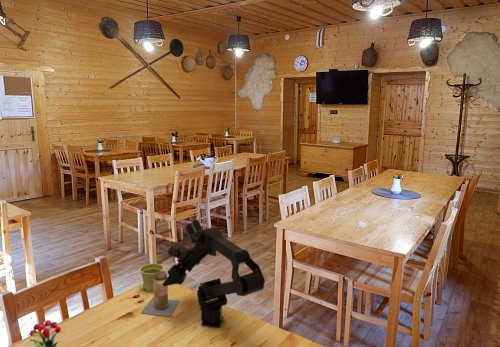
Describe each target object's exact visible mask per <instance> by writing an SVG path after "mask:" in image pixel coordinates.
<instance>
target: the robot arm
mask: <svg viewBox="0 0 500 347" xmlns="http://www.w3.org/2000/svg"><path fill="white" fill-rule="evenodd" d="M184 230H185V232H186V235H187V237H188V238H189V240H190V242H191V244H193V246H190V247H189V248H187V247H186V246H185V245H183V244H181V243H179V242H177V241H174V242H173V243H172V244H171V245H170V246H169V248H168V250H167V254H168V255H169V256H171V257H172V258H176V259H177V260H176V261H177V262H178V263H177V264H173V265H172V266H171V267H170V268H169V269H168V271H167V274H168V275H167V279H166V280H165V281H164V283H163V284H162V285H163V286H168V287H170V286H172V285H179V286H180V285H182V284H183V283H184V282H185V280H187V274H188V273H190V272H192V270H193V268H195V267H196V266H198V265H200V263H201V262H202V261H203V260H204V259H206V258H207V256H210V257H211V256H212V257H217V253H219V254H220V255H222V256H223V257H225V258H226V259H227V260H228V261H230V263H231V265H232V268H231V279H232V280H229V281H225V282H222V281H221V278H220V277H219V278H214V279H212V280H207V281H205V282H201V283H199V284H200V285H199V286H198V287H197V288H198V289H197V290H196V296H197V301H198V302H197V303H198V306H199V310H201V311H200V313H201V314H200V315H201V316H200V319H201V324H200V325H201V326H204V327H213V328H220V327H221V325H222V322H223V321H224V320H223V319H224V316H223V306H227V305H228V298H227V295H232V294H236V295H237V296H239V297H245V296H248V295H251V294H255V293H258V292H261V291H264V289H265V287H264V286H265V284H266V282H265V277H264V274H263V272H262V270H261V268H260V265H258V264H257V263H256V261H255V260H253V259H252V257H251V255H250V253H249V251H248V250H247V249H244V248H241V247H240V246H239V245H237V244H235V243H233V242H232V241H231V240H229V239H227V238H226V237H224V235H223V232H222V231H221V230H220V229H219V228H218V227H217V226H212V227H208V228H203V227H202V225H201V223H200V221H199V220H198V219H194V220H192V222H190V223H188V224H187V225H186V226H185V227H184ZM240 264H245V265H246V267H248V269H250V270H251V271H252V272H250V273H246V274H243V275H240V274H239V267H240ZM186 272H188V273H186Z"/></svg>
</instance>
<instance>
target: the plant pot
mask: <svg viewBox="0 0 500 347" xmlns="http://www.w3.org/2000/svg"><path fill="white" fill-rule="evenodd" d="M164 269H165V267H164V265H163V264H160V263H148V264H147V263H146V264H145V265H142V266H141V267H140V268H139V272H140V275H141V276H142V283H143V287H144V290H145V291H146V292H154V274H155V273H156V272H160V271H164Z"/></svg>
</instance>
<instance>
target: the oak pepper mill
mask: <svg viewBox="0 0 500 347" xmlns="http://www.w3.org/2000/svg"><path fill="white" fill-rule="evenodd" d="M167 274H168V272H166V271H164V270H163V271H160V272H156V273H155V274H154V291H153V298H154V308H155V309H156V310H164V309H166V308H167V307H168V299H169V286H163V285H162V284H163V283H164V281H165V280H166V279H167V277H168V275H167Z"/></svg>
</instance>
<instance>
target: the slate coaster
mask: <svg viewBox="0 0 500 347" xmlns="http://www.w3.org/2000/svg"><path fill="white" fill-rule="evenodd" d="M180 302H181V300H177V299H169V298H168V307H167V308H166V309H164V310H156V309H155V308H154V297H152V299H150V301H149V302H148V303H147V304H146V305H145V307H143V309H142V311H140V315H141V314H142V315H148V316H149V315H151V316H156V317H158V316H159V317H164V318H165V317H166V318H171V316H172V315H173V313H174V311H175V310H176V308H177V307H178V306H179V304H180Z"/></svg>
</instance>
